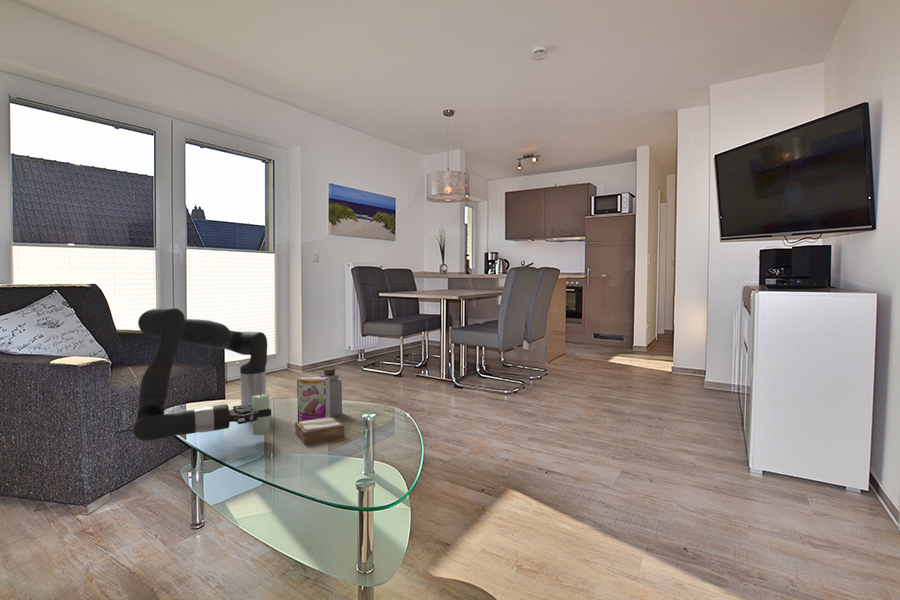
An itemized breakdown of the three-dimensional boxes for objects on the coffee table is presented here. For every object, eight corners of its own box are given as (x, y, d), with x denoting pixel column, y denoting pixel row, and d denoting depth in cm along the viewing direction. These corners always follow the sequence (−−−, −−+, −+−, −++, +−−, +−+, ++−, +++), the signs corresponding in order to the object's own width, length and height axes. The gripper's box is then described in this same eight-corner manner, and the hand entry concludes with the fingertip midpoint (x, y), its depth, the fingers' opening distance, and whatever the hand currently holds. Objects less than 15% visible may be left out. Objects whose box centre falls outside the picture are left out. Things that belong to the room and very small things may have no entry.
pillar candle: (251, 431, 150) (250, 392, 149) (268, 428, 152) (267, 390, 152) (254, 436, 145) (253, 396, 145) (271, 433, 148) (270, 393, 147)
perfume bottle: (334, 410, 186) (333, 367, 185) (342, 414, 181) (341, 369, 180) (318, 414, 181) (317, 369, 180) (326, 417, 176) (325, 371, 175)
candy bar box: (297, 422, 170) (296, 379, 169) (302, 419, 174) (301, 376, 174) (326, 423, 168) (325, 379, 168) (330, 419, 173) (330, 376, 173)
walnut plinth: (295, 433, 157) (295, 421, 157) (332, 427, 163) (332, 415, 163) (304, 444, 146) (304, 431, 145) (344, 437, 152) (343, 424, 152)
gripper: (213, 412, 135) (273, 403, 144) (209, 401, 147) (265, 394, 156) (213, 437, 135) (273, 426, 144) (210, 424, 147) (266, 415, 156)
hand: (269, 409), depth 150 cm, fingers closed on pillar candle, 5 cm apart
